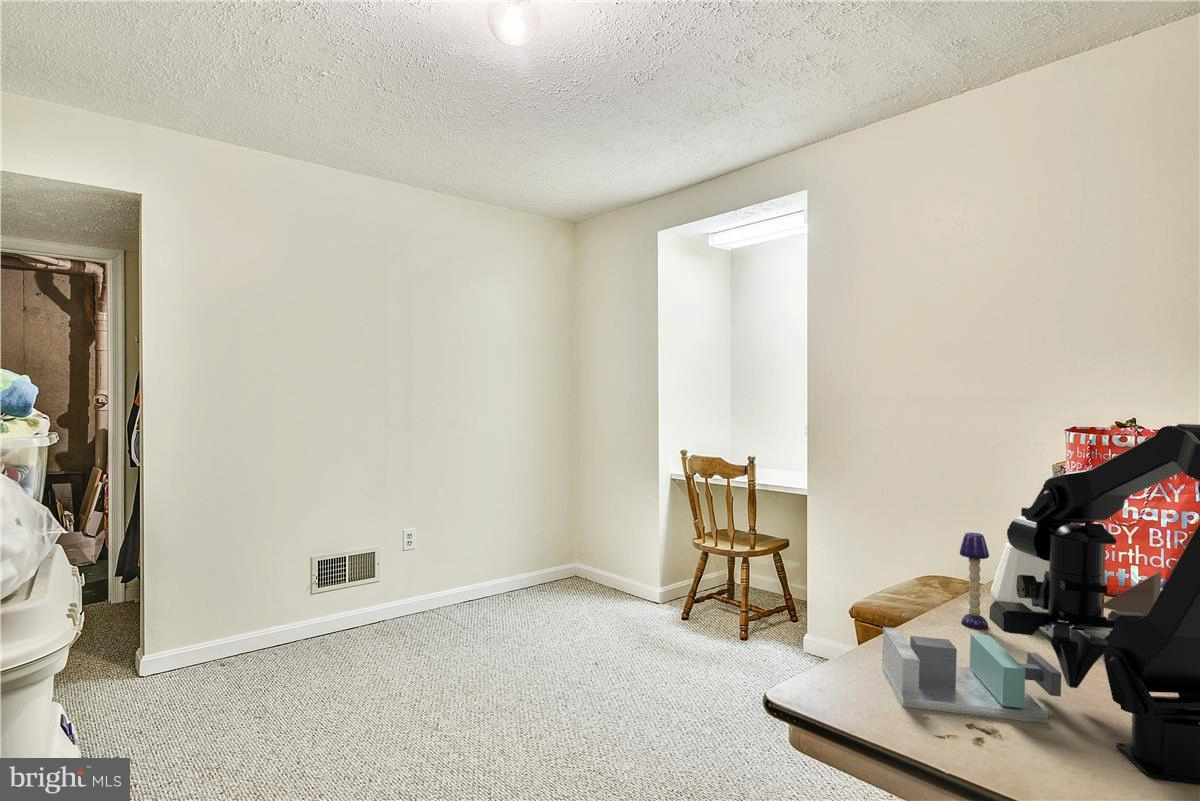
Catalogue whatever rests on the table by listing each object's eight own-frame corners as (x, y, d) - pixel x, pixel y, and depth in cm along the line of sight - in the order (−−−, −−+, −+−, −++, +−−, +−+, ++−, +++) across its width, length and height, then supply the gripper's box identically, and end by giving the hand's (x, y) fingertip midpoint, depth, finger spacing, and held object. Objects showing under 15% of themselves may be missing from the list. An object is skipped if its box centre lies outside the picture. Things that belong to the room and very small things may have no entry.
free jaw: (1070, 713, 81) (1071, 673, 81) (1002, 705, 83) (1003, 667, 83) (1028, 673, 93) (1029, 639, 93) (969, 667, 94) (970, 633, 94)
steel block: (955, 689, 88) (956, 648, 88) (916, 684, 89) (917, 645, 89) (947, 678, 91) (948, 639, 91) (909, 674, 92) (910, 635, 92)
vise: (1047, 723, 81) (1049, 674, 81) (902, 706, 85) (904, 659, 85) (1005, 679, 94) (1007, 637, 94) (881, 666, 97) (882, 625, 97)
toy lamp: (978, 631, 114) (981, 537, 114) (952, 623, 118) (954, 532, 118) (992, 626, 116) (995, 535, 116) (966, 619, 120) (969, 530, 120)
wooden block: (1152, 665, 101) (1155, 550, 101) (1071, 642, 109) (1074, 537, 109) (1159, 660, 103) (1162, 547, 103) (1079, 638, 112) (1082, 535, 111)
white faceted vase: (982, 620, 120) (984, 545, 120) (997, 604, 130) (999, 535, 130) (1071, 639, 111) (1073, 559, 111) (1080, 621, 121) (1082, 547, 121)
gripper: (1121, 561, 92) (1118, 670, 92) (977, 551, 96) (974, 655, 96) (1171, 583, 81) (1167, 706, 81) (1006, 570, 85) (1003, 688, 85)
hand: (1071, 686), depth 86 cm, fingers closed
